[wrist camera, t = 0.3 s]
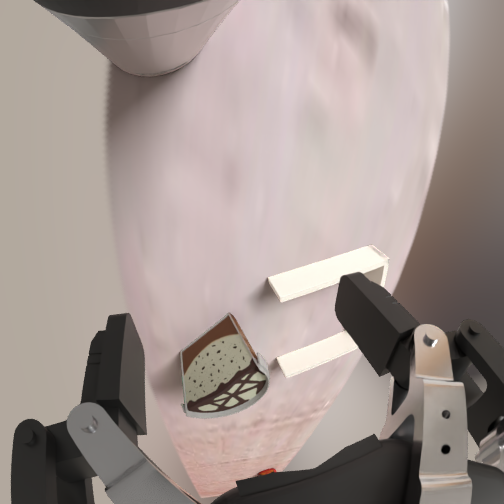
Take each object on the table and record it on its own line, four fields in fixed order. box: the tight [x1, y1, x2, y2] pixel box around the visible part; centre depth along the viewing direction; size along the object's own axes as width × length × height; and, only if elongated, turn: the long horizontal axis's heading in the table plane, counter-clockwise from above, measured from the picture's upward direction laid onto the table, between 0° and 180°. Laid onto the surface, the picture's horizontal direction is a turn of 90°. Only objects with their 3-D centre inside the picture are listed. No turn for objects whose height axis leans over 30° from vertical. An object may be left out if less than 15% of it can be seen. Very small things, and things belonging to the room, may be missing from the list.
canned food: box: [258, 468, 276, 476], centre depth 83 cm, size 8×8×11 cm
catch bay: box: [268, 244, 389, 378], centre depth 38 cm, size 18×16×4 cm
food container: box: [180, 313, 270, 419], centre depth 33 cm, size 12×6×10 cm, turn 129°
